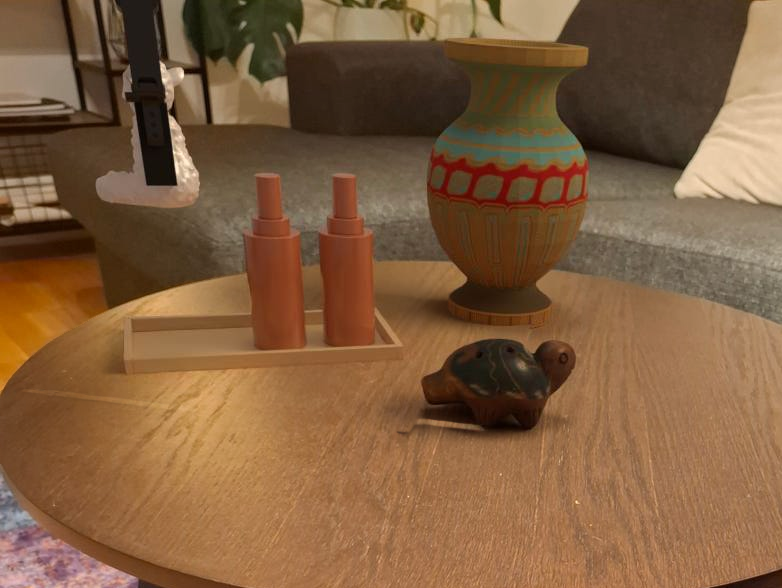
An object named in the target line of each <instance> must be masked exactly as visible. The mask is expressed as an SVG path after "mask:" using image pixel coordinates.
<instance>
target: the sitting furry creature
mask: <svg viewBox="0 0 782 588" xmlns="http://www.w3.org/2000/svg"><path fill="white" fill-rule="evenodd" d="M160 68H161V76H162V83H163V84H164V85H165V93H166V99H164V100H165V102H167V109H168V117H169V124H170V132H171V140H172V147H173V155H174V162H175V170H176V178H177V185H178V186H146V179H145V173H144V166H143V159H142V153H141V146H140V139H139V133H138V126H137V119H136V113H135V106H134V102H127V103H128V104H129V107H130V109H131V110H132V112H133V113H134V115H133V116H132V117H131V118H132V119H131V120H132V128H131V130H130V132H131V135H132V137H131V138H130V142H131V146H132V147H133V149H132V157H133V160H134V164H133V165H132V171H133V172H132V171H130V172H129V173H128V172H127V171H125V170H122V171H118V172H117V171H116V170H115V171H114V170H110V171H108V172H107V174H105V175H101V176H100V177H97V178H96V179H95V190H96V194H97V196H98V197H99V198H100V200H101V201H104V202H108V203H111V204H115V203H116V204H122V205H133V206H141V207H153V208H161V209H177V208H178V209H179V208H185V207H189V206H192V205H194V204H195V203H196V200H197V199H198V198H199V192H200V186H201V182H200V173H199V171H198V169H197V168H196V166H195V165H194V162H193V158H192V156H191V155H190V154H189V151H188V149H187V148H186V146H187V144H186V137H185V135H184V133H183V132H182V127H181V126H180V125H179V123H178V122H177V121H176V119H175V117H174V116H173V115H170V113H169V110H170V109H172V107H173V102H174V100H175V87H177V86H179V85H180V84H181V85H182V83H183V81H184V78H185V70H184V69H183V68H182V67H180V66H176V67H171V68H168V69H167V67H166V65H165V63H163V62H162V61H161V60H160ZM122 83H123V84H122V92H121V98H122V99H123V100H124V101H126V98H125V92H132V90H131V84H132V78H131V71H130V65H129V64H128V66H127V67H126V69H125V70H124V72H123V73H122Z"/></svg>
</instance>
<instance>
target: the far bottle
mask: <svg viewBox="0 0 782 588" xmlns="http://www.w3.org/2000/svg"><path fill="white" fill-rule="evenodd" d="M330 177H331V178H330V179H331V196H332V197H331V198H332V201H331V202H332V212H331V213H330V212H329V213H328V214H326V226H322V227H319V228H318V230H317V236H318V259H319V275H320V277H319V278H320V279H319V280H320V294H321V295H320V296H321V298H320V299H321V310H322V318H323V337H324V342H325V343H326V344H328V345H330V346H333V347H350V346H370V345H372V344H373V343H374V342H375V308H376V307H375V260H374V259H375V257H374V256H375V254H374V253H375V251H374V249H375V248H374V231H373V230H372V229H371V228H368V227H365V217H364V215H362V214H361V213H358V197H357V195H358V192H357V175H355V174H354V173H348V172H336V173H332V174H331V176H330Z"/></svg>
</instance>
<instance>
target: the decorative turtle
mask: <svg viewBox="0 0 782 588" xmlns="http://www.w3.org/2000/svg"><path fill="white" fill-rule="evenodd" d="M576 360H577V355H576V352H575V350H574V348H573V346H572V345H571V344H570V343H567V342H565V341H562V340H558V339H557V340H555V339H552V340H551V339H550V340H546V341H543V342H541V343H540V345H539V346H538V347H537V348H536V350H535V351H534V352H531V351H530V350H529V348H528V347H526V346H525V345H524V344H523V343H521V342H520V341H517V340H514V339H508V338H486V339H481V340H477V341H474V342H472V343H469V344H465V345H462V346H461V347H458V348H457V349H455V350H454V351H453V352H452V353H451V354H449V355H448V356H447V358H446V359H445V360H444V362H443V363H442V366H441V368H440V369H439V370H436V371H435V372H432V373H429V374H427V375H425V376H422V378H421V381H420V383H421V388H422V392H423V397H424V399H425V401H426V402H427V404H428V405H431V406H443V405H444V406H445V405H453V404H454V405H457V404H466V405H468V407H470V409H471V411H472V412H473V415H474V418H475V420H476V423H477V424H478V425H479V426H480V427H481V428H483V429H490V428H493V427H494V426H495V425H497V424H498V423H499V422H501V420H503V419H504V418H505V417H507V416H509V415H512V416H513V418H515V420H516V421H517V423H519V425H520V426H522V427H523V428H524V429H526V430H530V429H531V430H532V429H533V428H534V427H536V426H537V425H538V424H539V422H540V419H541V417H542V414H543V412H544V409H545V407H546V405H547V403H548V400H549V398H550V397H551V396H552V395H553V394H554V393H556V392H557V391H558V390H559V389H560V388H562V386H563V385H564V384H565V382H567V380H568V378H569V377H570V376H571V374H572V372H573V370H574V369H575V367H576V362H577V361H576Z"/></svg>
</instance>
